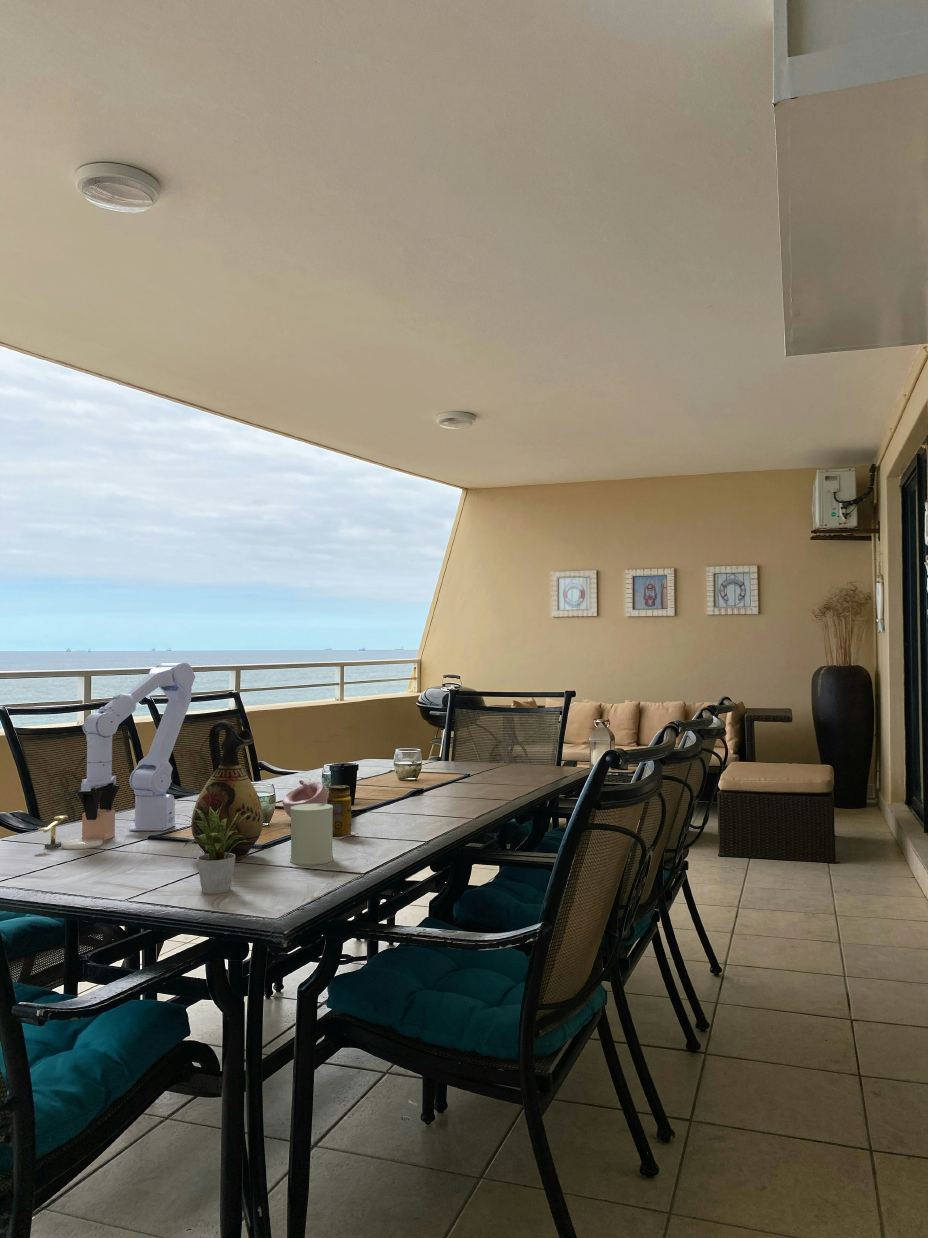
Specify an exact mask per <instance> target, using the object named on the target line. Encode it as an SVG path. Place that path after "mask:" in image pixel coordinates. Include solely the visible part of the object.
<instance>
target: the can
mask: <svg viewBox="0 0 928 1238" xmlns="http://www.w3.org/2000/svg"><path fill="white" fill-rule="evenodd" d="M332 819H333V806H332V805H330V804H319V803H314V804H300V805H295V806H292V807H291V818H290V861H289V862H290V863H291V864H293V865H299V866H300V865H301V866H317V865H323V864H327V863H331V862H332V861H333V860H334V854H333V852H334V851H333V850H334V849H333V848H334V847H333V838H332Z"/></svg>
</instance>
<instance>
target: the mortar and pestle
mask: <svg viewBox="0 0 928 1238" xmlns="http://www.w3.org/2000/svg"><path fill="white" fill-rule="evenodd" d="M298 783H299V784H300V785H298V786H296V787H295V788H293V789H291V790H289V791H288V792H287V793H286V794H285V795H284V797H283V799H282V806H283V810H284V811H285V813H286V815H287V816H288V817H289V818H290V819H291V807H292V806H295V805H300V804H314V803H319V804H327V798H328V796H329V795H328V791H327V789H326V788H325V785H324V784H323V783H322V782H320V781H308V782H304V781H303V780H302V779H300V780H299V781H298Z"/></svg>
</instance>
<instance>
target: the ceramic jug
mask: <svg viewBox="0 0 928 1238" xmlns="http://www.w3.org/2000/svg"><path fill="white" fill-rule="evenodd" d="M222 731H224V733H225V734H224V735H225V737H224V739H223V741H222V742H221V744H220V734H221V732H222ZM253 743H254V737H253V734H252V732H251V731H249V729H247V728H244V729H242V730H241V731H239V732H238V731H237V728H236V727H235V725H234V723H233V722H230V721H228V720H224V719H223V720H219V721H217V722H215V723H214V724H213V725H212V726H211V727H210V729H209V732H208V747H209V752H210V758H211V759H210V760H211V764H212V772H211V775H210V777H209V779H208V780H207V781H206V783H205V785H204V787H203V788H202V790H201V792H200V793H199V795H198V797H197V799H196V802H195V804H194V807H193V810H192V815H191V818H193V819H194V820H195V821H196V822H197V821H202V819H201V817H200V814H199V813H198V811H197V810H196V809H198V810H200V811H201V812H202V813H203V815H204V816H205V819H206V822H207V824H208V827H209V829H210V823H209V808H210V807H211V809H212V810H213V811H214V812H216V811H217V810H218V809H219V810H220V812H219V810H218V812H219V820H220V822H221V821H222V820H223V819H225V818H227V821H226V830H225V834H224V836H225V835H226V832H227V830H228V828H229V827H230V825H231V823H232V821H233V820H234V818H235V817H236V815H237V814H238V813H239V814H238V815H237V817H236V819H235V821H234V823H233V824H232V826H231V828H230V829H229V831H228V832H230V831H231V830H232V831H234V832H232V833H231V834H230V835H229V836H228V838H227V840H226V842H227V841H228V840H229V839H230V838H231V837H233V836H237V835H240V836H242V837H239V838H237V839H235V840H234V841H233V842H232V843H231V844H230V846H229V847H228V848H227V850H226V852H225V853H228V852H229V850H230V849H231V847H232V846H233V845H235V844H236V843H238V842H240V841H243V840H246V841H243V842H240V843H238V844H236V845H235V846H234V847H233V848H232V849H231V851H230V852H229V853H232V854H235V862H239V861H242V860H243V859H247V858H248V854H249V852H250V851H251V849H252V848H253V847H254V845H255V844H256V843H257V842H258V840H259V838H260V836H261V834H262V831H263V827H264V815H263V808H262V804H261V803H262V802H261V801H260V796H259V795H258V791H257V789H256V788H255V786H254V785H253V782H252V781H251V779H250V778H249V776H248V774H247V773H246V772H245V770H244V769H243V767H242V765H241V763H240V760H239V751H240V750H241V749H243V748H246V747H247V746H249V745H252V744H253ZM221 750H222V753H221ZM221 806H222V807H221ZM194 808H196V809H194ZM220 808H221V809H220ZM218 812H217V815H218ZM250 813H251V814H250ZM247 814H248V815H247ZM245 815H246V816H245ZM244 816H245V817H244ZM193 819H191V822H192V823H193V824H194V825H195V826H196V827H197V828H196V827H195V826H194V825H193V824H192V823H191V822H190V825H191V828H190V829H191V835H192V837H193V839H194V841H200V842H203V841H202V839H200V838H199V837H197V836H200V835H202V834H204V832H203V831H202V829H201V828H200V827H199V826H198V825H196V824H197V823H198V822H197V823H196V822H195V821H194V820H193ZM198 824H199V823H198ZM234 826H235V827H234ZM233 827H234V828H233ZM232 828H233V829H232ZM197 829H198V830H199V831H198V830H197ZM236 831H237V832H236ZM200 833H201V834H200ZM203 843H204V842H203ZM225 844H226V843H225ZM196 845H197V846H198V847H199V848H200V850H201V851H202V852H203V855H204V854H209V853H208V850H206V848H205V846H204V845H203V844H202V843H199V842H196Z"/></svg>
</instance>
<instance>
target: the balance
mask: <svg viewBox="0 0 928 1238" xmlns="http://www.w3.org/2000/svg"><path fill="white" fill-rule="evenodd" d="M68 817H69V816H68V815H56V816H53V820H55V821H53V822H52V823H50V824H49V825H48V826H45V827H41V828H40V827H39V828H38V832H43V833H48V832H50V841H49V842H46V843H45V844H44V849H45V848H47V849H48V848H55V849H57V848H59V847H58V846H60V847H61V843H62V841H56V835H57V833H56V828H57V827H56V826H57V825H58V824H60V823H61V822H63V820H64V819H65V820H66V819H68ZM56 847H57V848H56Z"/></svg>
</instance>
